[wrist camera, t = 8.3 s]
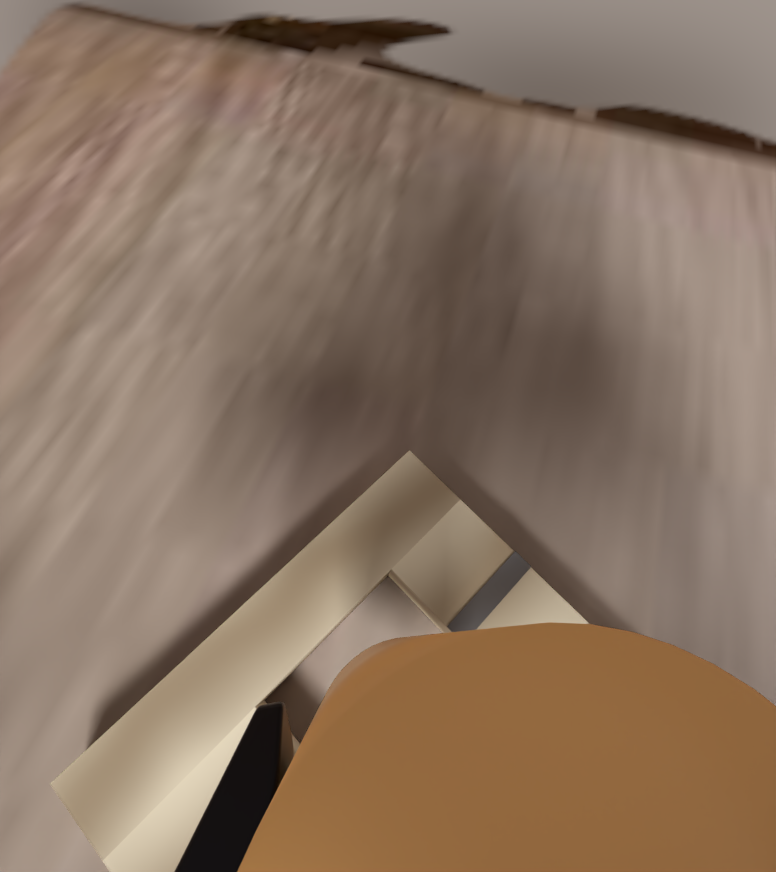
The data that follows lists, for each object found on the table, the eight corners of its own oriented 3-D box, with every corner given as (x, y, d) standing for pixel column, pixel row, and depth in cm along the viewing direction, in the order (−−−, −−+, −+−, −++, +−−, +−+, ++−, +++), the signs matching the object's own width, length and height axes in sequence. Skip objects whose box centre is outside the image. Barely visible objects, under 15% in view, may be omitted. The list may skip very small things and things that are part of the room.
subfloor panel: (755, 808, 19) (802, 827, 17) (462, 1310, 14) (480, 1416, 12) (404, 465, 23) (409, 449, 21) (80, 768, 18) (48, 784, 16)
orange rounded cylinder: (491, 659, 15) (951, 713, 4) (464, 839, 14) (1153, 2041, 2) (344, 621, 15) (320, 552, 4) (300, 795, 14) (4, 1671, 2)
